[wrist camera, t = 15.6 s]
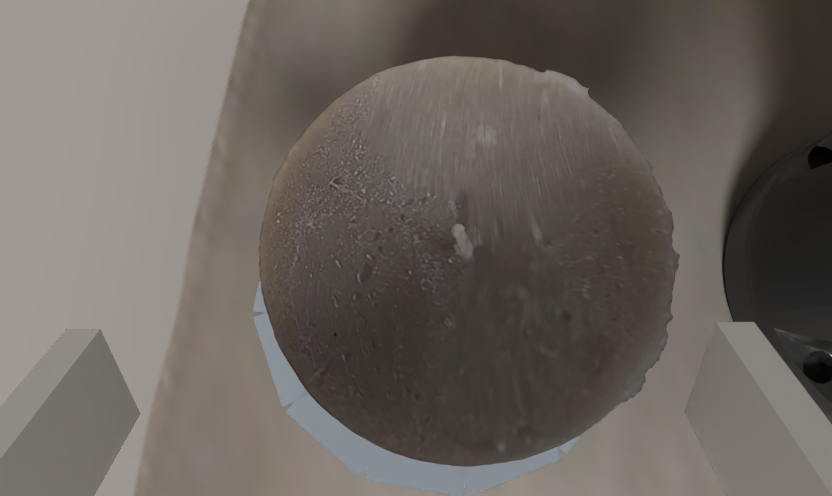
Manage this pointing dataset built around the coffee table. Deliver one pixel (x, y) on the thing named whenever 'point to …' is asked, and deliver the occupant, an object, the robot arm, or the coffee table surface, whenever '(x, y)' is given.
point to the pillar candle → (467, 261)
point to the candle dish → (371, 456)
